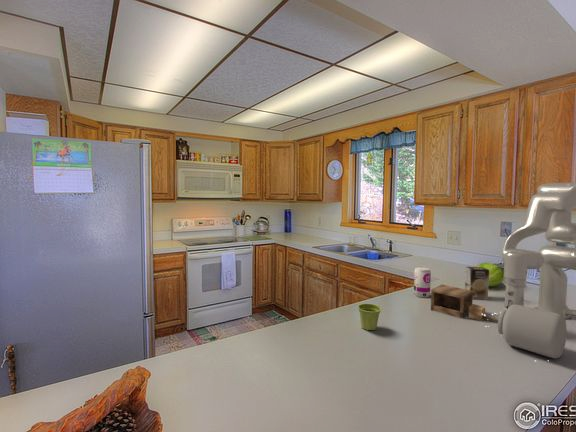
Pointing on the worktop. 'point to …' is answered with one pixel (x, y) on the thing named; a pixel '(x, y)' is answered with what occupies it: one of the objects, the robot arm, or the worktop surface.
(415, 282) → the supplement can
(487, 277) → the coffee box
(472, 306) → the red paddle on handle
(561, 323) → the jar
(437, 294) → the open wooden crate
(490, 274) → the lettuce
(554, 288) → the robot arm
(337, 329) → the worktop surface
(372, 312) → the plant pot
